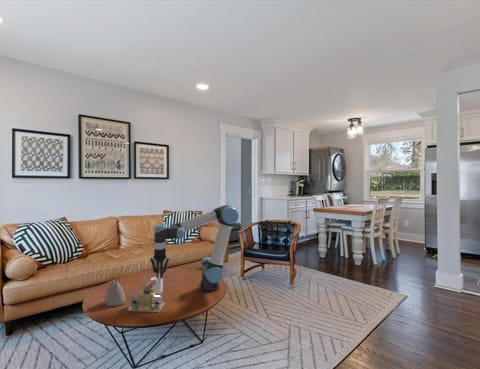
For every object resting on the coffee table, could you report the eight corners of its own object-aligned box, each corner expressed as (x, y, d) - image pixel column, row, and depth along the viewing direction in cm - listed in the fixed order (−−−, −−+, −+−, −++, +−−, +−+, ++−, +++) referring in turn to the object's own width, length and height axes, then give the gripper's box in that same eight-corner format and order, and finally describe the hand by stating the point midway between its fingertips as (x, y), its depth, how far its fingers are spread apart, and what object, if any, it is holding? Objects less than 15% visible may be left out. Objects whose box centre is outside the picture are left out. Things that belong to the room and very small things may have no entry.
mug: (147, 297, 193) (147, 282, 192) (143, 293, 199) (143, 279, 199) (164, 293, 200) (164, 279, 199) (160, 289, 206) (160, 275, 206)
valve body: (164, 303, 184) (165, 288, 183) (158, 312, 172) (158, 296, 171) (135, 302, 185) (135, 287, 185) (127, 310, 173) (127, 295, 173)
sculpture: (101, 307, 177) (101, 284, 177) (108, 299, 189) (108, 277, 189) (122, 306, 178) (122, 283, 178) (128, 298, 190) (128, 277, 190)
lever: (148, 292, 176) (148, 288, 176) (142, 292, 176) (142, 288, 176) (157, 283, 191) (157, 279, 191) (151, 283, 191) (151, 279, 191)
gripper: (171, 247, 189) (170, 281, 190) (152, 246, 190) (152, 280, 191) (167, 249, 182) (167, 285, 182) (148, 249, 183) (148, 284, 183)
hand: (159, 282), depth 187 cm, fingers closed
